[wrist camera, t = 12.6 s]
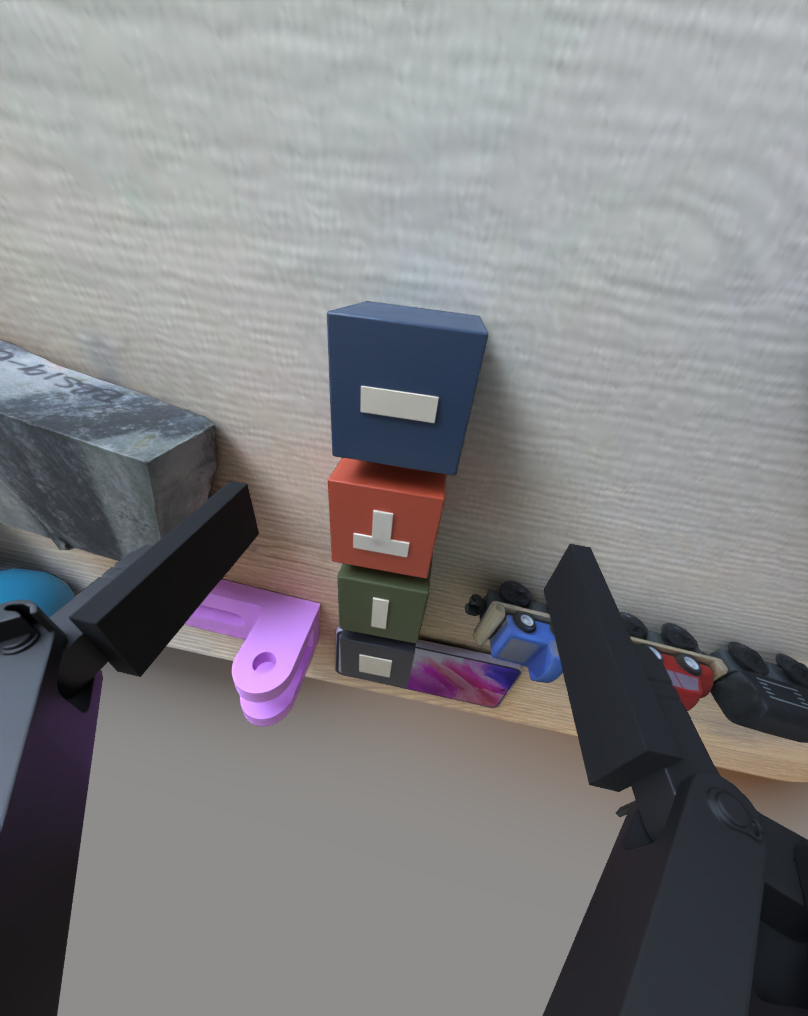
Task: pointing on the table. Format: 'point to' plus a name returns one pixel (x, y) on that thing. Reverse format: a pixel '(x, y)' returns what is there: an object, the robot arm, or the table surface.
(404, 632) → the block
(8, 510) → the stone block
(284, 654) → the bracket
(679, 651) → the toy train
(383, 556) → the letter block
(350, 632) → the block
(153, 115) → the table surface
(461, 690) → the smartphone
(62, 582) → the ball
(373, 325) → the block
